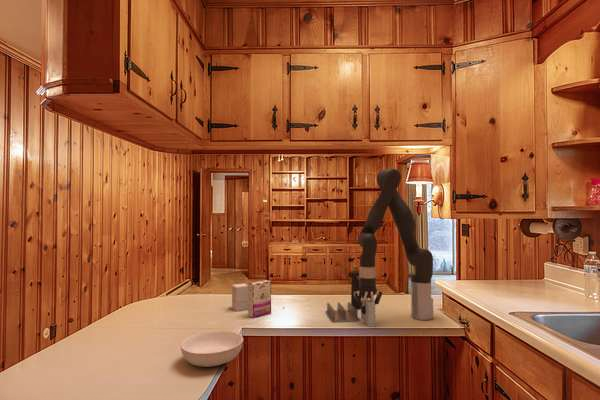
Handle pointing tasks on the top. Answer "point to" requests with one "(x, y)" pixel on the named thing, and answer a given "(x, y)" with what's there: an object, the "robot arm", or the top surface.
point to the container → (355, 288)
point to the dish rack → (342, 313)
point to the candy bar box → (259, 298)
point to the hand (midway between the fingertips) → (367, 313)
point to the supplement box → (240, 297)
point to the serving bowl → (211, 347)
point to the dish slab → (369, 313)
